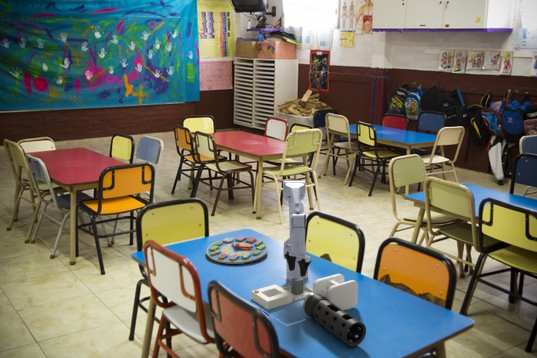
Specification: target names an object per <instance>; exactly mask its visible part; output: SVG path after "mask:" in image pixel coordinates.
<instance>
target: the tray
mask: <svg viewBox="0 0 537 358" xmlns="http://www.w3.org/2000/svg"><path fill="white" fill-rule="evenodd" d="M282 288H283V289H284V290H286V291H288V292H289V293H291V285H287V286H284V287H282ZM311 293H313V288H310V287H309V286H306V285H305V284H303V293H301V294H298V295H294V294H293V293H291V294H292V301H294V302H296V301H299V300H303V299H305V298H306V297H307V296H308V295H309V294H311Z"/></svg>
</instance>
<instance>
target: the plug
mask: <svg viewBox="0 0 537 358" xmlns="http://www.w3.org/2000/svg"><path fill="white" fill-rule="evenodd" d="M290 282H291V293H293V294H294V295H298V294H301V293H303V285H304V279H302V278H300V277H298V278H295V279H291V281H290Z"/></svg>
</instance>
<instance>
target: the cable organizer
mask: <svg viewBox="0 0 537 358" xmlns="http://www.w3.org/2000/svg"><path fill="white" fill-rule="evenodd" d="M312 290H313V293H316V294H321V295H323V296H324V297H326V298H327V299H328V300H329V301H330V302H332V303H333V304H335V305H336V306H338V307H339V308H341V309H342V310H344V311H347V310H351V309H353V308H354V307H356V306H357V304H358V295H359V294H358V293H359V282H358V281H356V280H354V279H351V280H348V281H345V275H344V274H341V273H336V274H335V273H334V274H332V275H328V276H324V277H321V278H317V279H316V280H314V281H313V283H312Z"/></svg>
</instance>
